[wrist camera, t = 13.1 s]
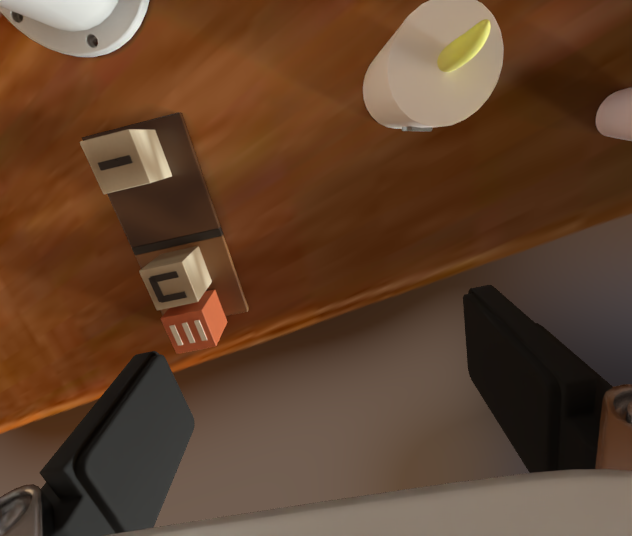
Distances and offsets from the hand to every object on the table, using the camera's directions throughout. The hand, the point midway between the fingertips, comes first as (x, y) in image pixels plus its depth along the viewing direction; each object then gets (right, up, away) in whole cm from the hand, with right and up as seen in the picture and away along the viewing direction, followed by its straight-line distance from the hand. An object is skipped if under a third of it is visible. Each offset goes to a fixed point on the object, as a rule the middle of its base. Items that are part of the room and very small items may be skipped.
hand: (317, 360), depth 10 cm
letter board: (-14, +6, +23) cm, 27 cm away
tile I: (-15, +12, +19) cm, 28 cm away
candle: (+7, +18, +18) cm, 26 cm away
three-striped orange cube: (-12, -2, +25) cm, 28 cm away
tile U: (-13, +3, +23) cm, 27 cm away
